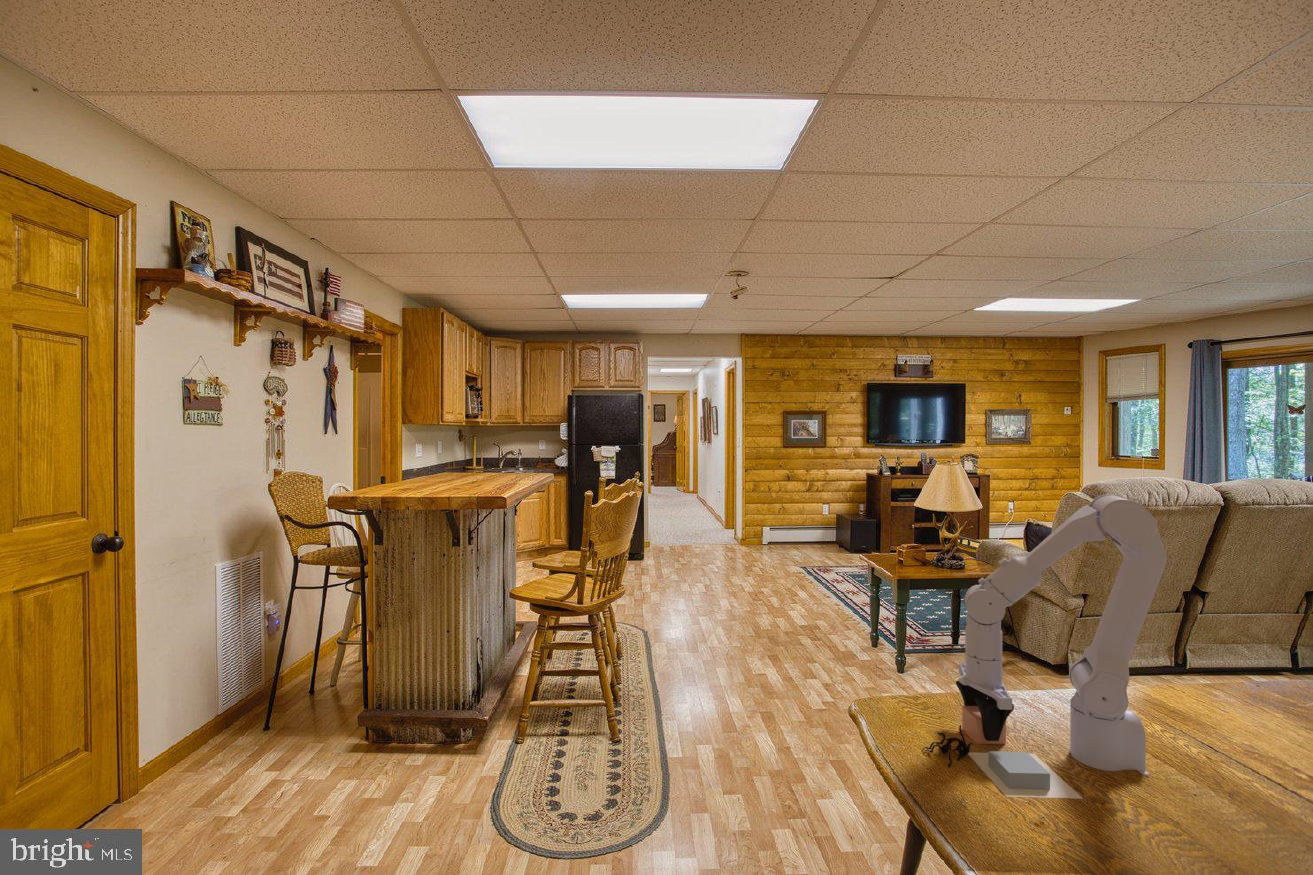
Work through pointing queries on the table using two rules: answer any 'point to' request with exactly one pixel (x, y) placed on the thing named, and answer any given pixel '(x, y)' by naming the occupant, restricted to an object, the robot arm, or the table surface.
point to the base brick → (1018, 770)
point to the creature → (961, 749)
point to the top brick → (978, 726)
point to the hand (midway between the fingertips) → (983, 731)
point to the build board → (1056, 789)
